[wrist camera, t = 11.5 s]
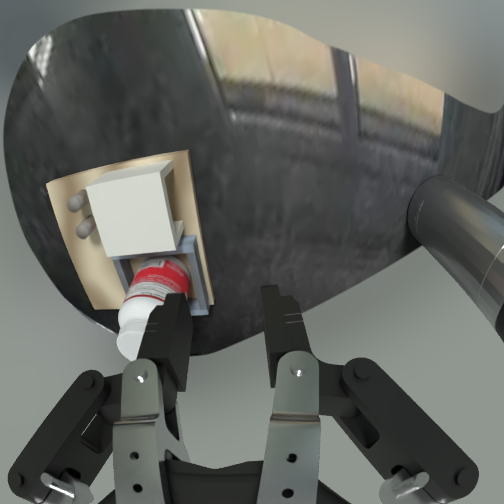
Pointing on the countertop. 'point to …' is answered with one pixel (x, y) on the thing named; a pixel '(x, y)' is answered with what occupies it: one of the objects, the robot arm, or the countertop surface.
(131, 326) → the pill bottle
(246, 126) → the countertop surface
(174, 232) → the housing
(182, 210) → the base board
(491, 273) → the robot arm
